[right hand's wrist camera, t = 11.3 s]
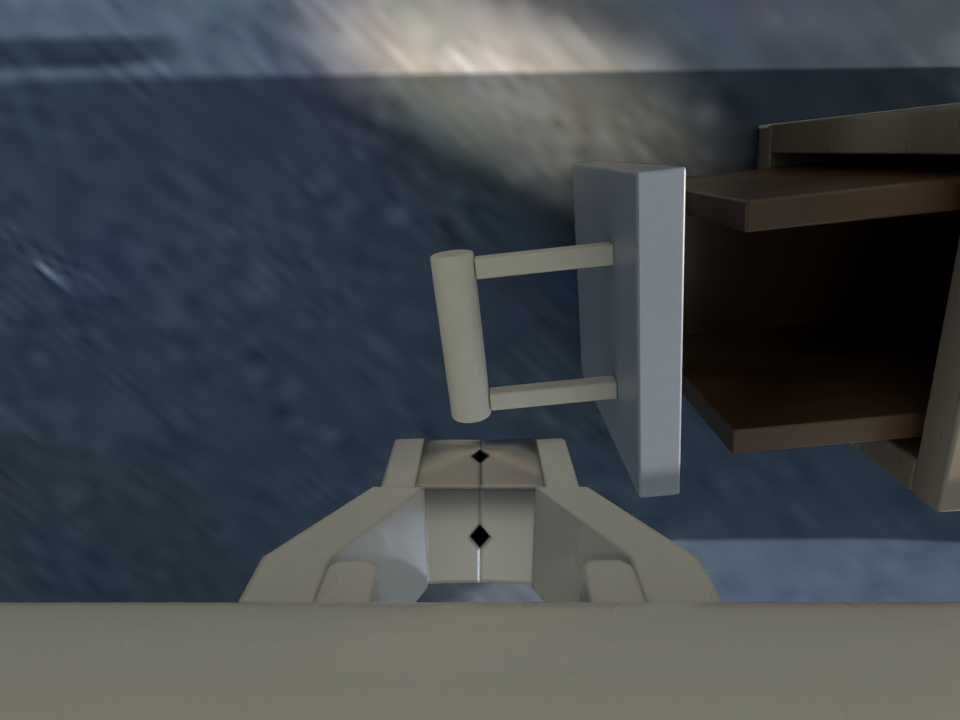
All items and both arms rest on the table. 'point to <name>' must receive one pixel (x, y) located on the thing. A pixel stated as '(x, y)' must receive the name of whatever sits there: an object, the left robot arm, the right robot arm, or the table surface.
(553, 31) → the table surface
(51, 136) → the table surface
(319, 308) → the table surface
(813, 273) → the drawer
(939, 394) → the cabinet
